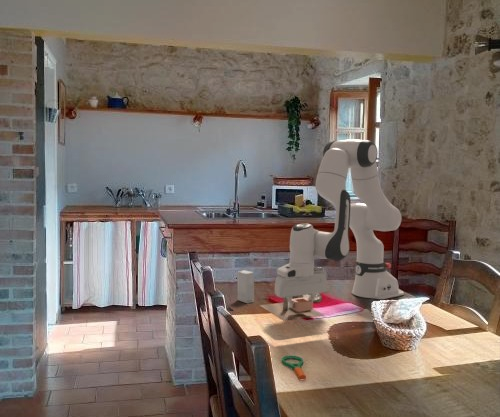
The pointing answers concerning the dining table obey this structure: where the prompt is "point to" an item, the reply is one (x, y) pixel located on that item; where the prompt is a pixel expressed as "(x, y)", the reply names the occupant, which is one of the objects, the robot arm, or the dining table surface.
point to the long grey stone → (317, 299)
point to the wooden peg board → (289, 310)
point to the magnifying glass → (295, 365)
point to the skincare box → (245, 286)
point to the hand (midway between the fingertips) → (301, 306)
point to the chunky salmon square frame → (302, 304)
